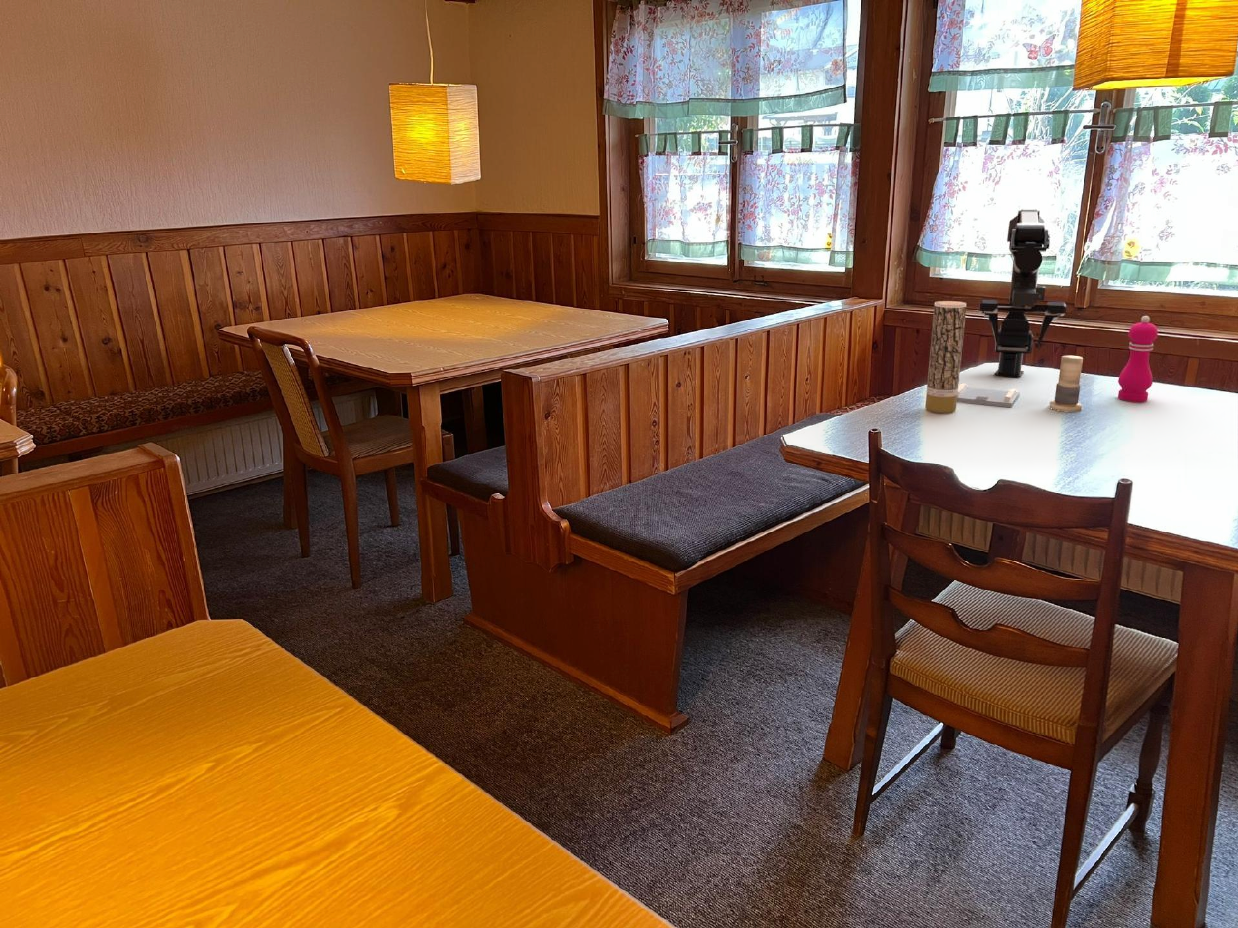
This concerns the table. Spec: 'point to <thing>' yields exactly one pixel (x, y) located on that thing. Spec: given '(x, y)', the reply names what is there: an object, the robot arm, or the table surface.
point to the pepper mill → (1138, 363)
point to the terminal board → (987, 396)
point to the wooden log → (945, 356)
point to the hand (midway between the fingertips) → (1017, 344)
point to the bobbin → (1068, 385)
